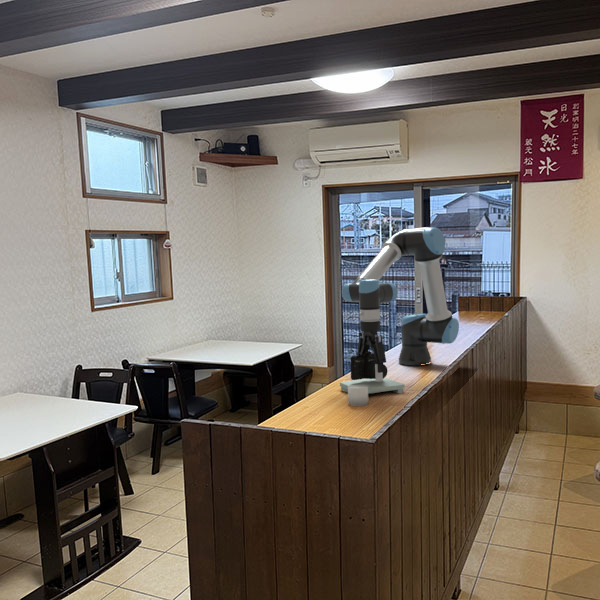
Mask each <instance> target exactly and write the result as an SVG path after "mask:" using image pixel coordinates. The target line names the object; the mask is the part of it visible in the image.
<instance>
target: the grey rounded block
mask: <svg viewBox="0 0 600 600" xmlns="http://www.w3.org/2000/svg"><path fill="white" fill-rule="evenodd" d="M347 397H348V398H347V401H348V405H349V406H352V407H363V406H368V405H369V394H368V386H367V385H360V384H357V385H350V386H348V393H347Z"/></svg>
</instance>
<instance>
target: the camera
mask: <svg viewBox="0 0 600 600" xmlns="http://www.w3.org/2000/svg"><path fill="white" fill-rule="evenodd" d="M349 360H350V380H351V381H354V380H361V379H375V363H376V360H375V357H374V354H373V353H372V351H370V350H368V351H367V352H364V354H361V355H359V354H357V353H356V355H352V356H351V355H350V359H349ZM387 375H388V367H387V365H385V364H384V363H383V379H384V378H387Z"/></svg>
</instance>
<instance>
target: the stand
mask: <svg viewBox="0 0 600 600" xmlns="http://www.w3.org/2000/svg"><path fill="white" fill-rule="evenodd" d="M357 384H360V385H367V386H368V395H369V394H375V393H381V392H389V391H390V392H394V393H396V394H402V393H403V394H404V391H405V390H404V389H405V388H406V386H405V384H404V383H403V382H402V383H401V382H399V381H396V380H394V379H393V380H392V379H390V378H387V377H385V378H384V379H383V381H376V380H375V379H359V380H346V381H340V382H339V387H340V389H341V391H342V392H345V393H347V394H348V386H350V385H357Z"/></svg>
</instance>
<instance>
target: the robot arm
mask: <svg viewBox="0 0 600 600" xmlns="http://www.w3.org/2000/svg"><path fill="white" fill-rule="evenodd" d="M445 250H446V238H445V235H444V234H443V232H442V231H441V230H440V228H438V227H430V226H426V227H416V228H404V229H401V230H398V231H397V232H396V233H394V234H392V235H391V236H390V237H389V238H388V239H387V240H385V242H384V243H383V244H382V245H381V247H380V251H378V253H377V254H376V256H375V257H374V258H372V260H371V262H370V263H369V264H368V265H367V266H366V267H365V269H363V270H362V272H361V273H360V274H359V275H358V276H357V278H356V279H355V280H354V281H353V282H349V283H345V284H344V285H343V286H342V288H341V296H342V298H343V300H344V301H345V302H352V303H355V302H356V303H359V319H360V322H359V324H360V325H359V329H360V331H361V332H359V333H358V342H357V343H358V344H357V352H356V355H357V354H359V355H361V354H364V352H367V351H370V350H369V349H370V348H371V350H372V351H371V352H372V354H374V357H375V360H376V363H375V380H376V381H383V364H384V363H387V358H386V353H385V352H386V351H385V347H384V343H383V341H384V339H383V336H382V335H379V334H378V331H379V332H380V330H381V321H380V320H381V308H380V307H381V306H380V305H381V304H384V303H390V302H393V301H395V300H396V298H397V297H398V294H399V293H398V292H399V291H398V288H397V286H396V285H395V283H392V282H383V283H382V282H381V283H380V282H379V281H380V280H381V278H383V276H384V275H385V273H386V272H387V271H388V270H389V269H390V268H391V266H392V265H393V264H394V263H395V262H397V261H398V260H400V259H401V257H405V256H413V257H414V261H415V262H416V263H417V264H419V270H420V275H421V279H422V280H421V281H422V286H423V291H424V292H423V293H424V299H425V303H426V309H427V313H417V314H411V315H410V314H409V315H404V316H403V317H401V326H400V327H401V350H400V353H399V356H398V364H399V363H401V364H405V365H404V366H406V365H421V364H426V363H429V362H431V363H432V358H431V354H430V351H429V348H428V343H432V344H442V345H445V344H447V345H449V344H452V343H454V342H455V341H456V339H457V337H458V335H459V329H460V324H459V320H458V319H457V318H455V317H453V314H452V313H453V312H451V311H450V310H449V309H448V306H447V300H446V294H445V293H446V292H445V287H444V281H443V276H442V270H441V264H440V260H441V258H442V257H443V253H445ZM401 364H400V365H401Z"/></svg>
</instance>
